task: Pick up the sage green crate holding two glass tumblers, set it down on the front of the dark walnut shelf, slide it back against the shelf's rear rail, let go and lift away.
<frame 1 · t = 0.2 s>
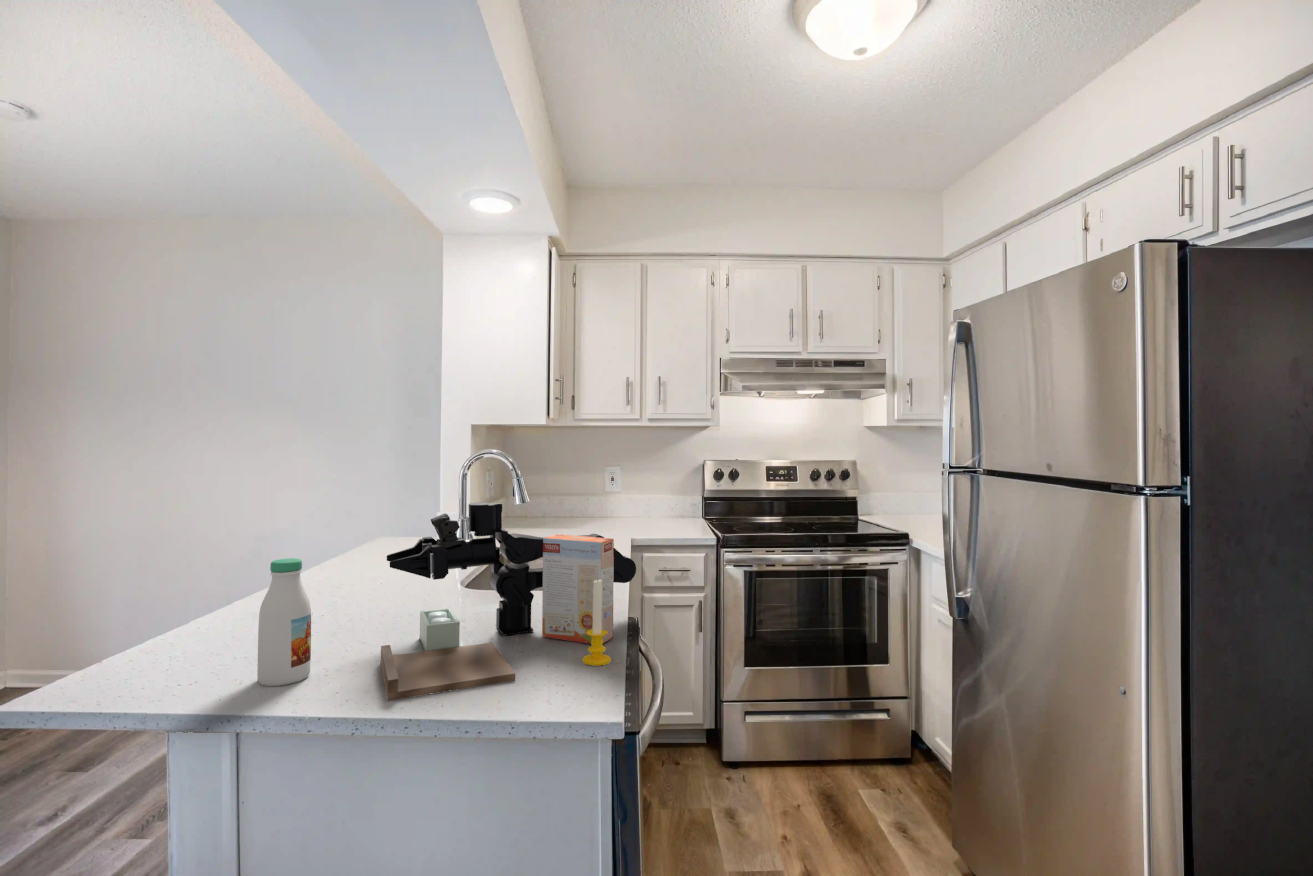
hand: (388, 561, 123), 17 cm above the worktop, tool horizontal, fingers open, 9 cm apart
glass crate: (438, 644, 125), on the worktop
milk bottle: (284, 679, 106), on the worktop
walnut shelf: (445, 671, 110), on the worktop
cracker box: (577, 638, 130), on the worktop
candle: (596, 662, 116), on the worktop
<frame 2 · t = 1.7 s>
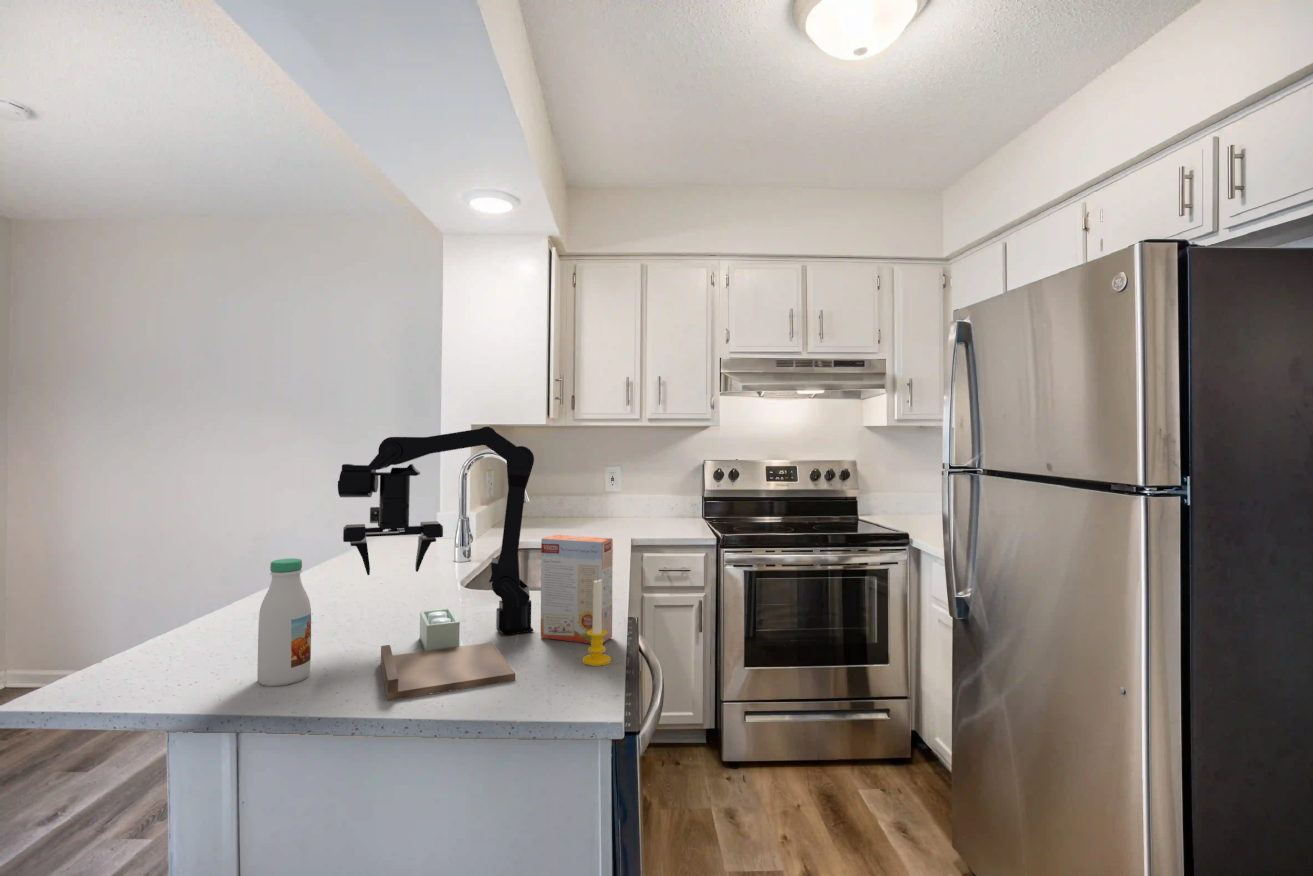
hand: (392, 573, 129), 13 cm above the worktop, tool pointing down, fingers open, 9 cm apart
nothing on the worktop moved.
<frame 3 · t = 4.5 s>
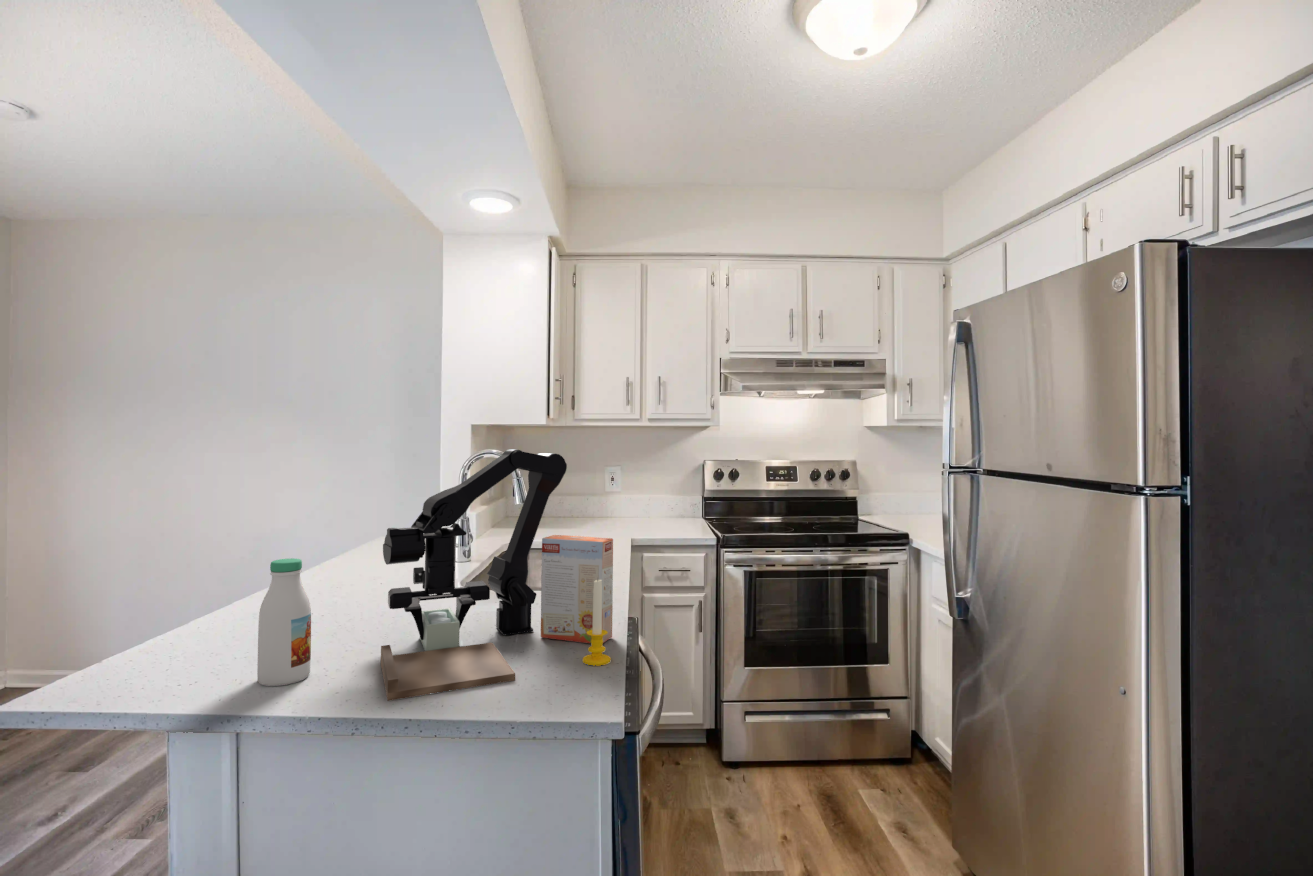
hand: (438, 637, 125), 1 cm above the worktop, tool pointing down, fingers closed on glass crate, 6 cm apart
glass crate: (438, 644, 125), on the worktop, touching gripper
everything else where it was.
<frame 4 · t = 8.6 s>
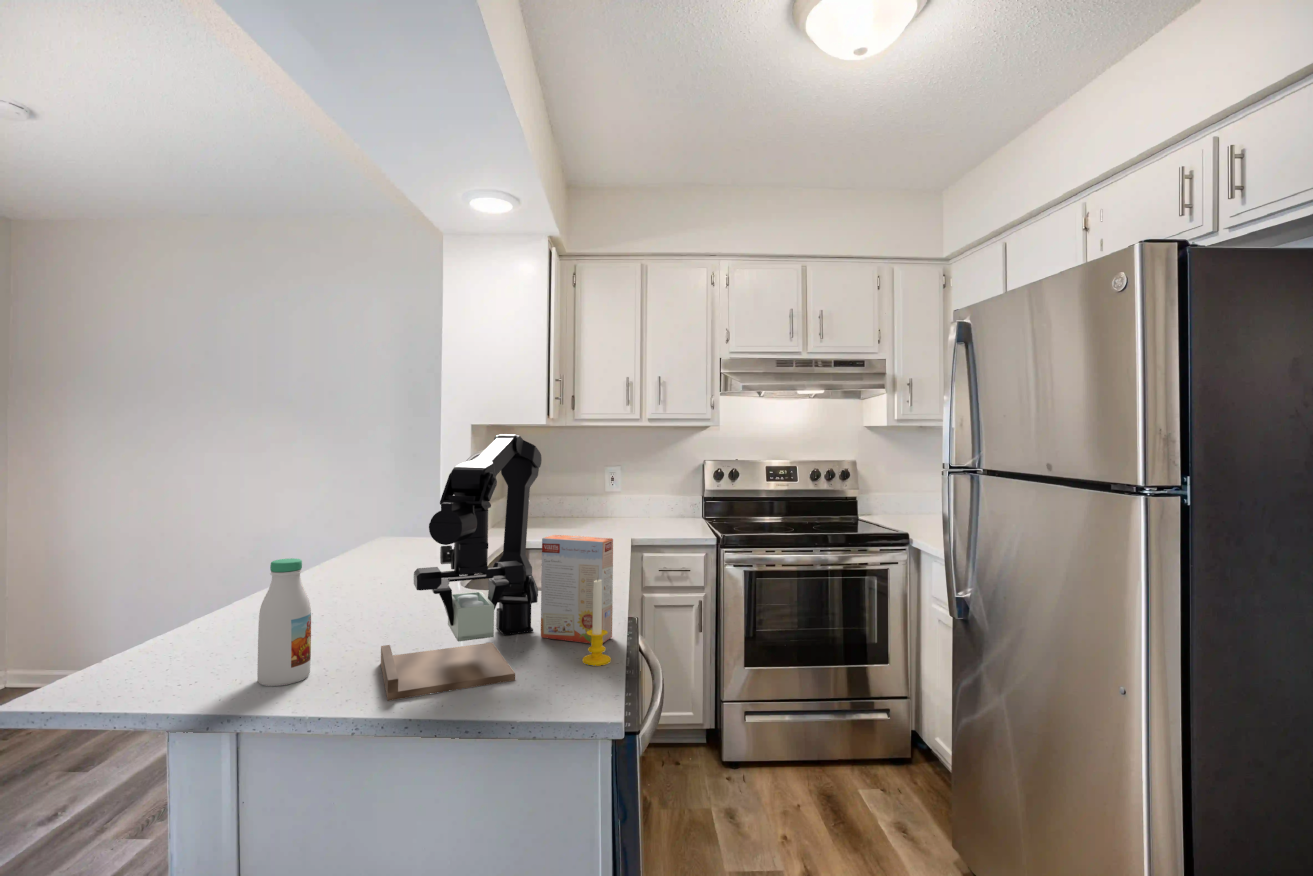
hand: (470, 623, 112), 8 cm above the worktop, tool pointing down, fingers closed on glass crate, 6 cm apart
glass crate: (470, 630, 112), point 7 cm above the worktop, touching gripper
everything else where it was.
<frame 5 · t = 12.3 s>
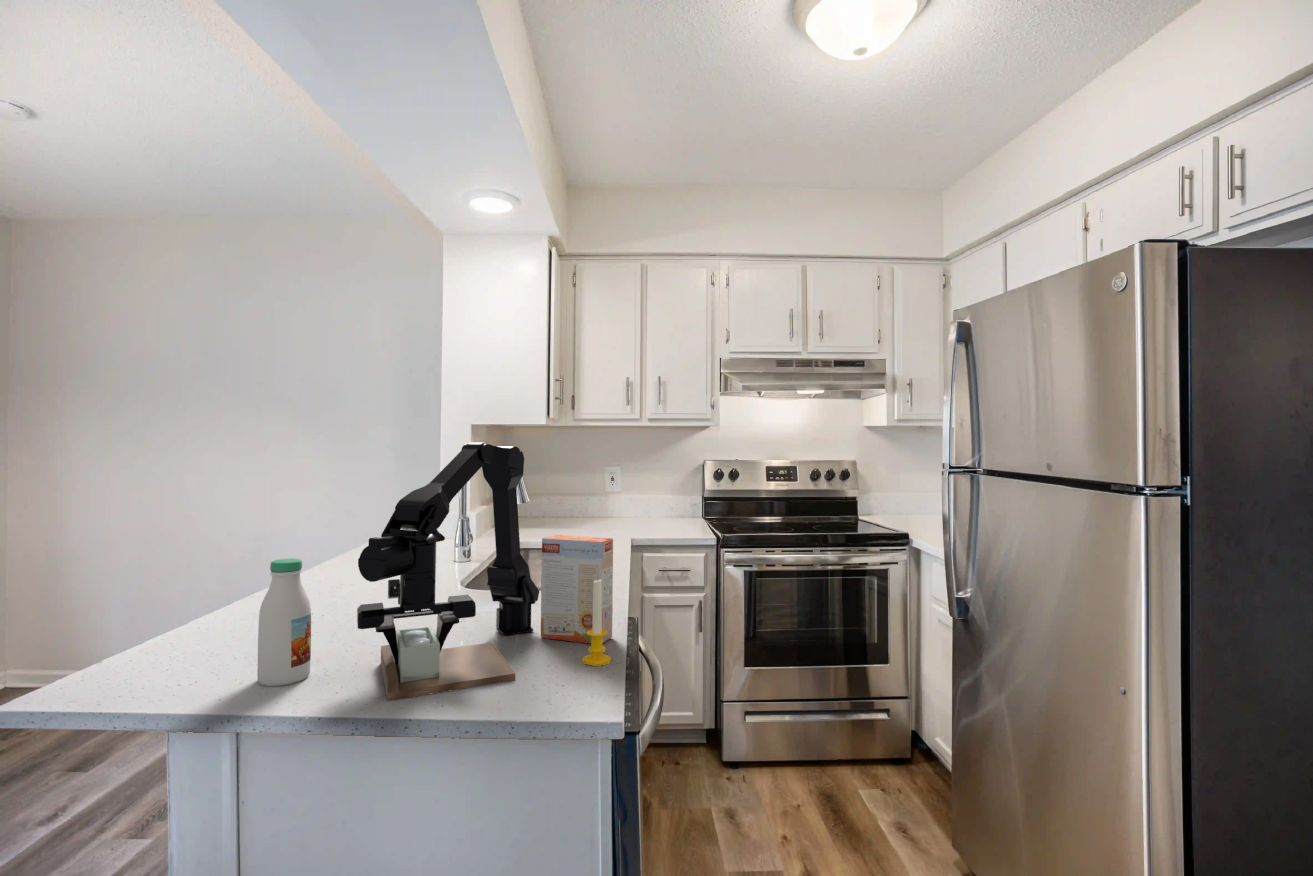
hand: (416, 661, 108), 3 cm above the worktop, tool pointing down, fingers closed on glass crate, 6 cm apart
glass crate: (416, 668, 108), point 1 cm above the worktop, touching gripper
everything else where it was.
when the fingers open (3 cm above the worktop, at t = 12.8 s): glass crate stays where it is, resting on walnut shelf.
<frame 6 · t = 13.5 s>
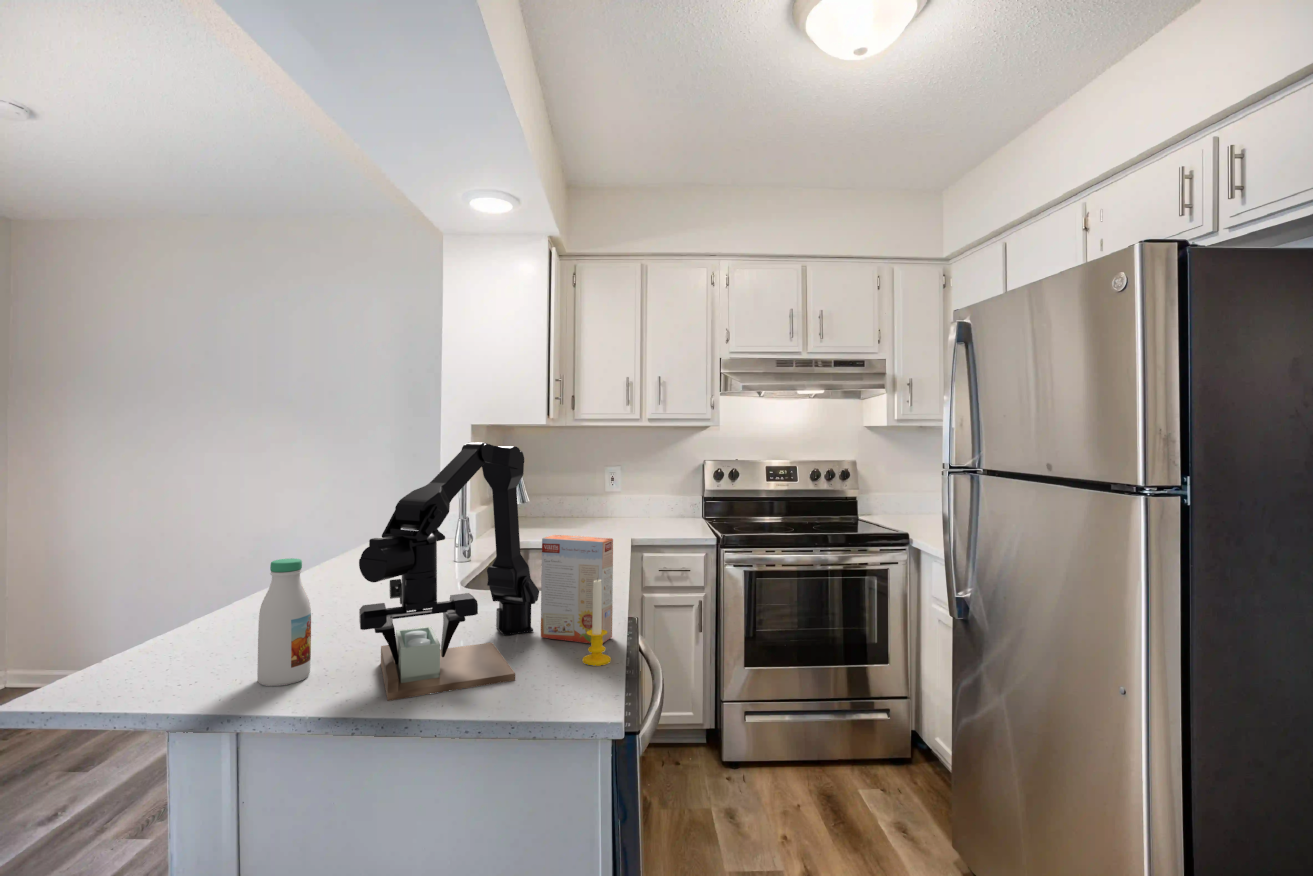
hand: (419, 660, 108), 3 cm above the worktop, tool pointing down, fingers open, 7 cm apart
glass crate: (416, 669, 108), point 1 cm above the worktop, touching walnut shelf
everything else where it was.
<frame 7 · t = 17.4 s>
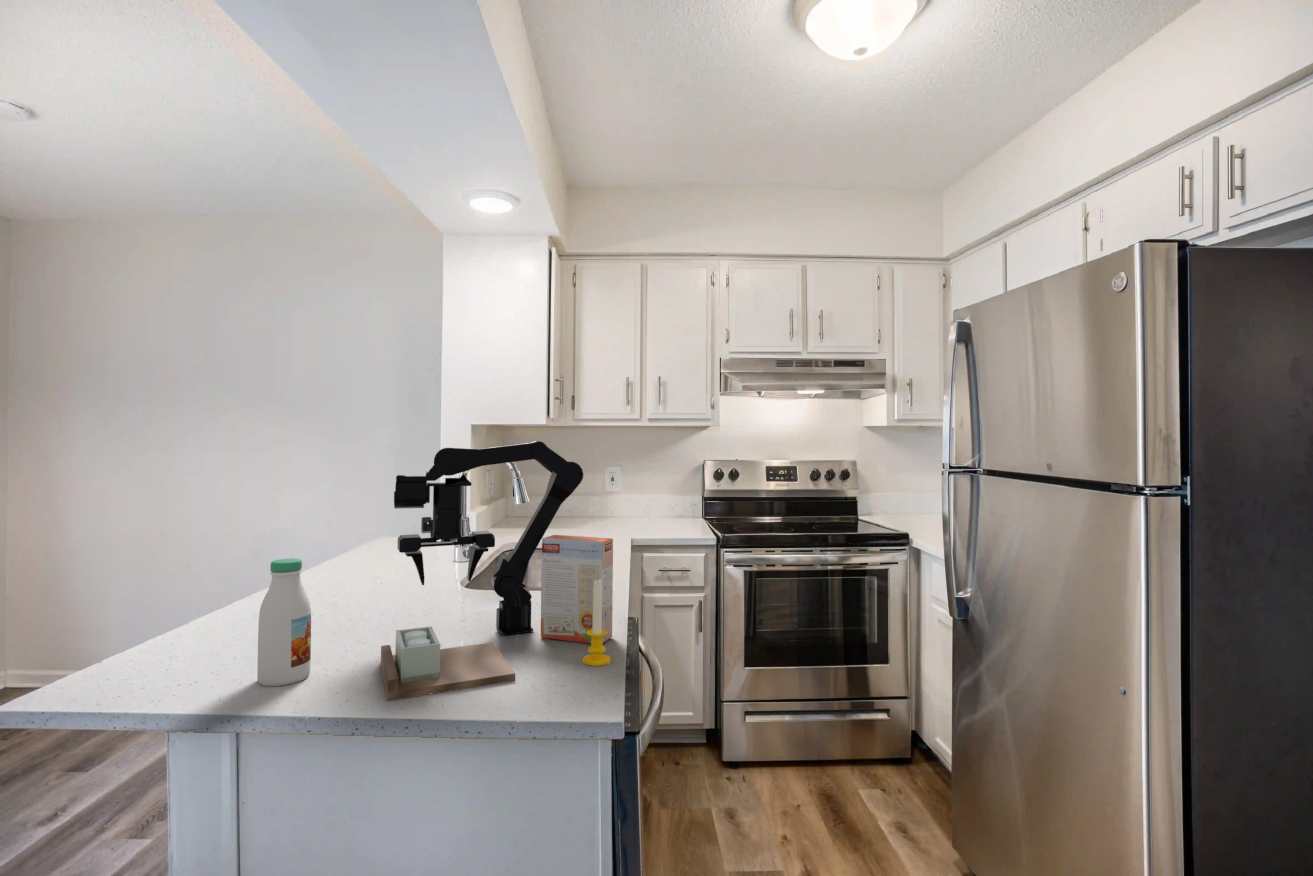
hand: (446, 582, 130), 11 cm above the worktop, tool pointing down, fingers open, 9 cm apart
nothing on the worktop moved.
at the end: glass crate 0.2 cm from the target spot on the walnut shelf, point 1.2 cm above the walnut shelf's base; glass crate tilted 0°; the gripper is holding nothing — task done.
